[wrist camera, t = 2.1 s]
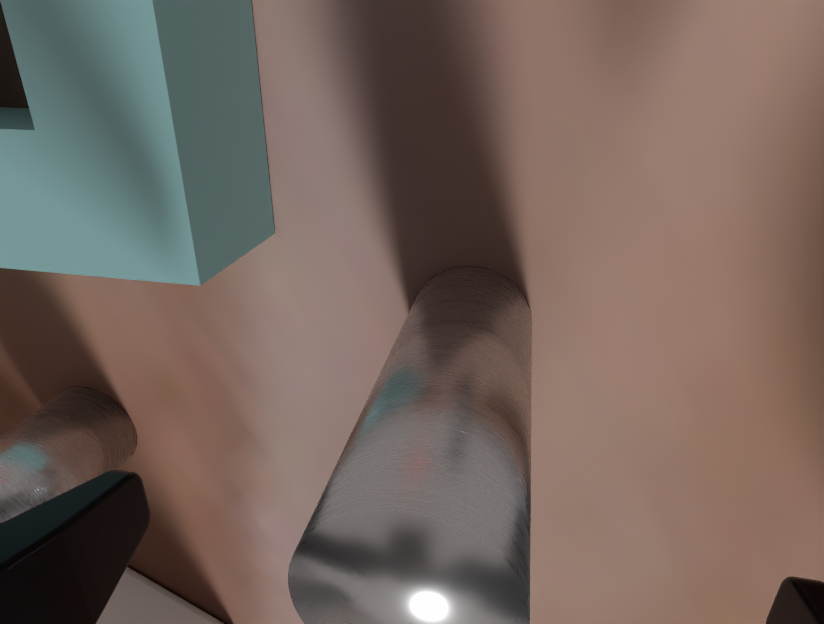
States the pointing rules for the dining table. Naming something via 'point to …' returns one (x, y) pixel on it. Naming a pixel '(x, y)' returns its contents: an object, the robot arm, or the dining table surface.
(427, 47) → the dining table surface
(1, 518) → the pin short
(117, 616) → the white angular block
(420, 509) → the pin medium
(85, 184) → the socket block
